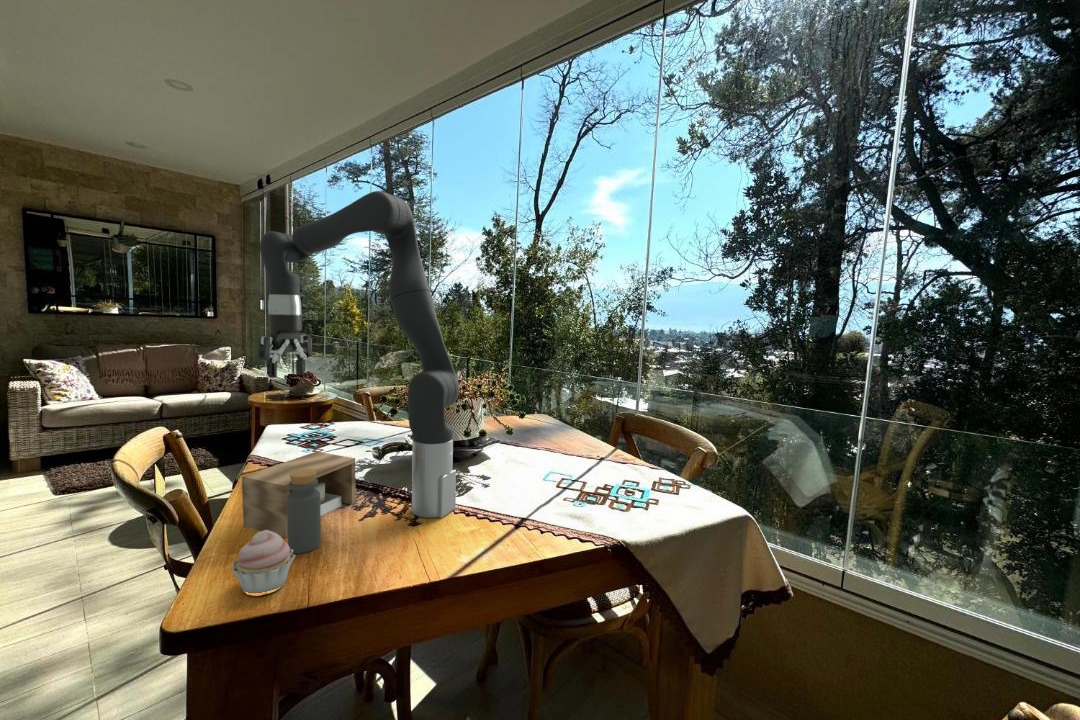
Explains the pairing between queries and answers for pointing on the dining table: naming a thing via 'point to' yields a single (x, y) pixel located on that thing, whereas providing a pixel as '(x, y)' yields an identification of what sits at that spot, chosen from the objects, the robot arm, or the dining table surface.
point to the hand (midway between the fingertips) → (287, 375)
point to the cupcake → (263, 563)
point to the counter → (272, 488)
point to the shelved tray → (327, 499)
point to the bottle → (303, 511)
